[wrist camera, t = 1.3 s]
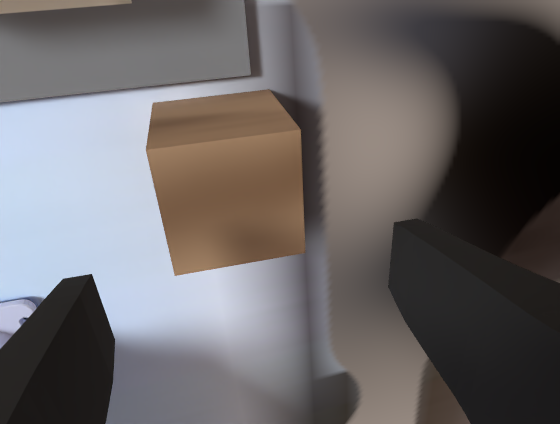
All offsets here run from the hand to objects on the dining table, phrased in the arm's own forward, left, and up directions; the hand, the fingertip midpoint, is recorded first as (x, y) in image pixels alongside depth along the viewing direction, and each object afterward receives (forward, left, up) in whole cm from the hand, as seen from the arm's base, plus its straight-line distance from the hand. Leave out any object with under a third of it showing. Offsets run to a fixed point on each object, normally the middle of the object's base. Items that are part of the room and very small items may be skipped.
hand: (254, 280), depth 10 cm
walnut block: (0, 0, -9) cm, 9 cm away
